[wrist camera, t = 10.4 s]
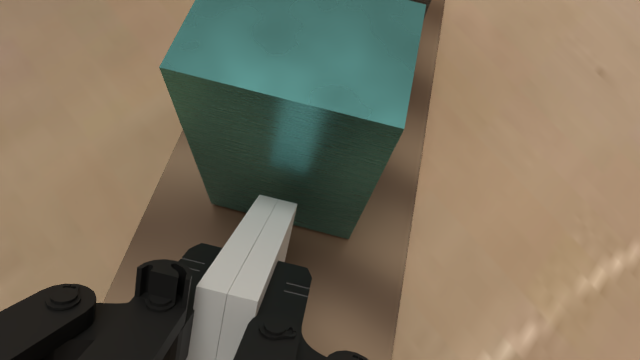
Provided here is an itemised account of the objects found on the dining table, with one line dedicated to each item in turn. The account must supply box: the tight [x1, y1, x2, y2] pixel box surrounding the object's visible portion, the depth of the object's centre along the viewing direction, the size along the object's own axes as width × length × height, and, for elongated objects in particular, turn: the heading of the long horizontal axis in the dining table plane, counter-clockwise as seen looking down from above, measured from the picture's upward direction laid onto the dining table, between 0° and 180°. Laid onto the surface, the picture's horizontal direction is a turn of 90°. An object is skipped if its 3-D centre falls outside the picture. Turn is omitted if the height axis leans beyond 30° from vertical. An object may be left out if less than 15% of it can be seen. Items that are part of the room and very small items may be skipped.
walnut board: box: [103, 0, 445, 360], centre depth 23 cm, size 33×13×1 cm, turn 166°
